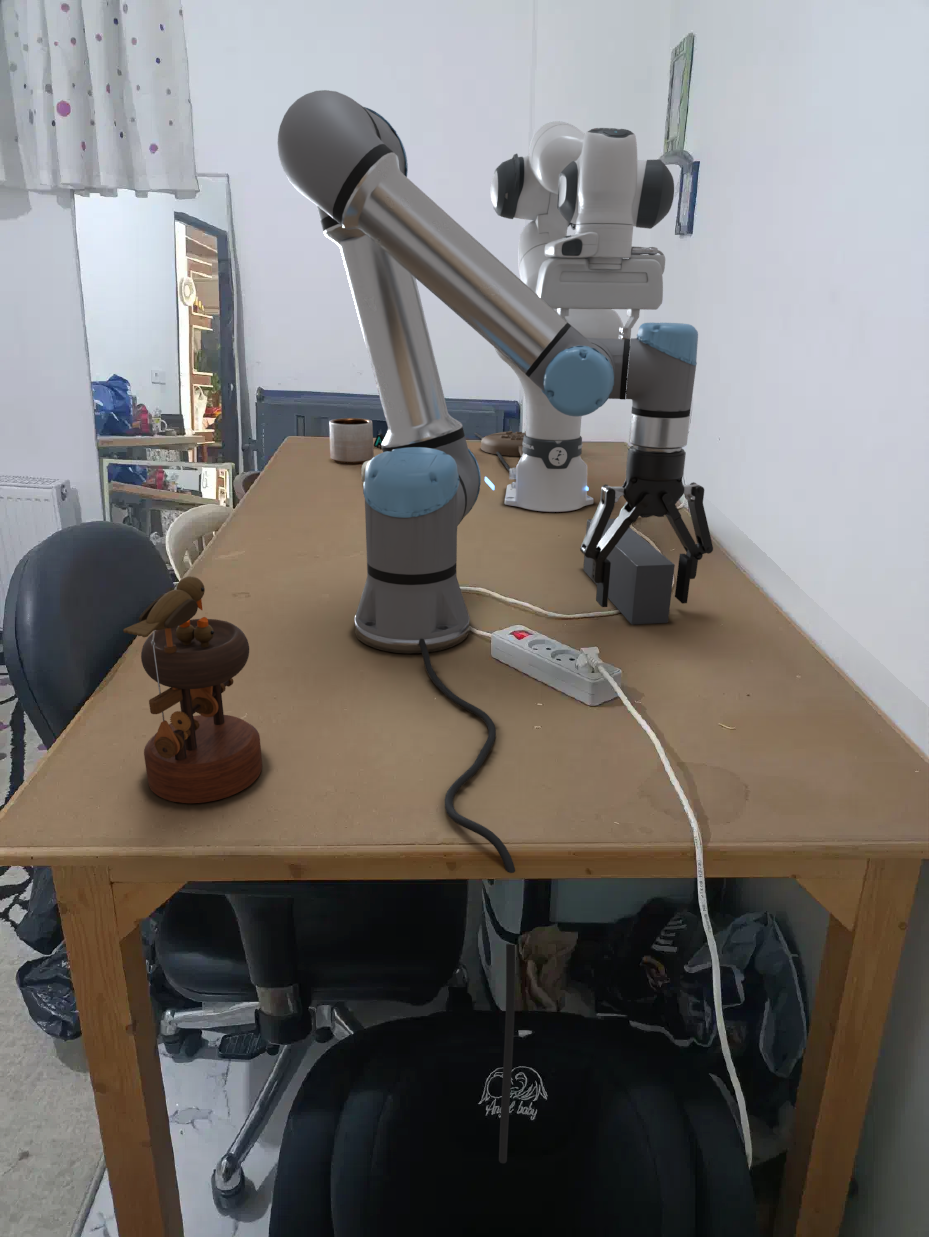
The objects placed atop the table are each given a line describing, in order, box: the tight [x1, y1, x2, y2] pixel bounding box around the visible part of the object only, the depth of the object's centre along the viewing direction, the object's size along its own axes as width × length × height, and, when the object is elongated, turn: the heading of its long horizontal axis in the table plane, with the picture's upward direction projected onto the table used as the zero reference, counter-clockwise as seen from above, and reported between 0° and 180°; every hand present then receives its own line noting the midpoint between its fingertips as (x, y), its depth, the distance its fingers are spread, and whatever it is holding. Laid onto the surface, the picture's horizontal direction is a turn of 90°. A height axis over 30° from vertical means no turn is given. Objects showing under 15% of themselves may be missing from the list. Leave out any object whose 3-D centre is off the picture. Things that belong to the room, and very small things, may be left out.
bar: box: [582, 518, 676, 625], centre depth 126 cm, size 23×5×8 cm, turn 9°
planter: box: [328, 417, 375, 464], centre depth 212 cm, size 11×11×10 cm
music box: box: [122, 575, 263, 804], centre depth 78 cm, size 15×11×20 cm
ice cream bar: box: [480, 430, 526, 458], centre depth 223 cm, size 21×28×4 cm
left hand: (641, 601), depth 120 cm, fingers open, 11 cm apart
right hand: (596, 339), depth 137 cm, fingers open, 8 cm apart
